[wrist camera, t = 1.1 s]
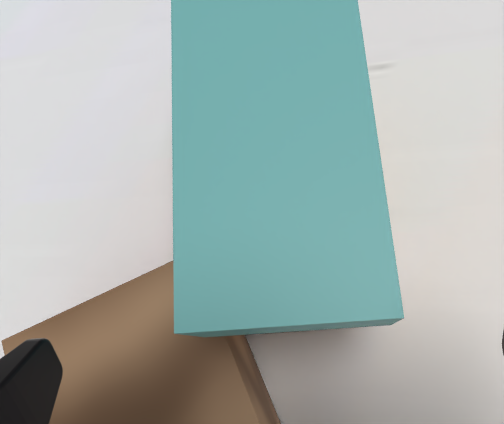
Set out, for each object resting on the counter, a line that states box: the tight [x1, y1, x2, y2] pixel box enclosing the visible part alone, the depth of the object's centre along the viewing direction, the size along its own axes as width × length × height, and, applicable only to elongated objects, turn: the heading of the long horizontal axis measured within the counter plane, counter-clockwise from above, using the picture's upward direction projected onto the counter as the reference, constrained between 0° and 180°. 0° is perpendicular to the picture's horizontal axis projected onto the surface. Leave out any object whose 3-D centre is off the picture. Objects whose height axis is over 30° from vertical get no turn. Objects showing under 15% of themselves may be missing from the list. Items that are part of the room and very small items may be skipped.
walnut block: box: [2, 261, 281, 424], centre depth 21 cm, size 10×9×4 cm
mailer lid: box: [171, 0, 404, 337], centre depth 17 cm, size 13×7×4 cm, turn 3°
